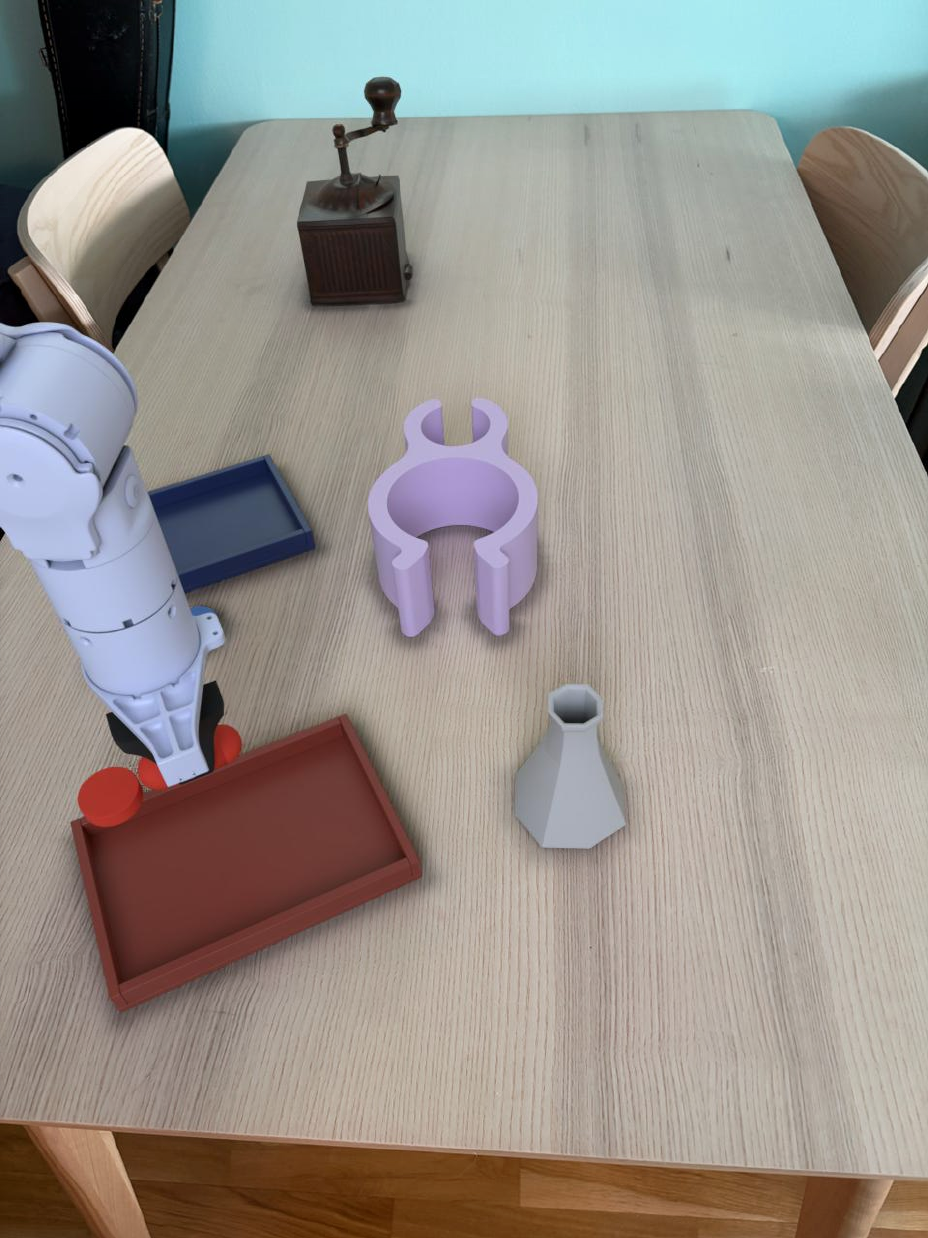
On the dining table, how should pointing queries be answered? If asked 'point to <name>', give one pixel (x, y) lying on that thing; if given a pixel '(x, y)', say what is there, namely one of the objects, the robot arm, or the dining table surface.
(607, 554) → the dining table surface
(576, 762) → the flask
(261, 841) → the red tray
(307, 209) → the manual coffee grinder
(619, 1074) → the dining table surface
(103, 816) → the red disc-ended bar
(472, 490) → the clip
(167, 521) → the blue tray
